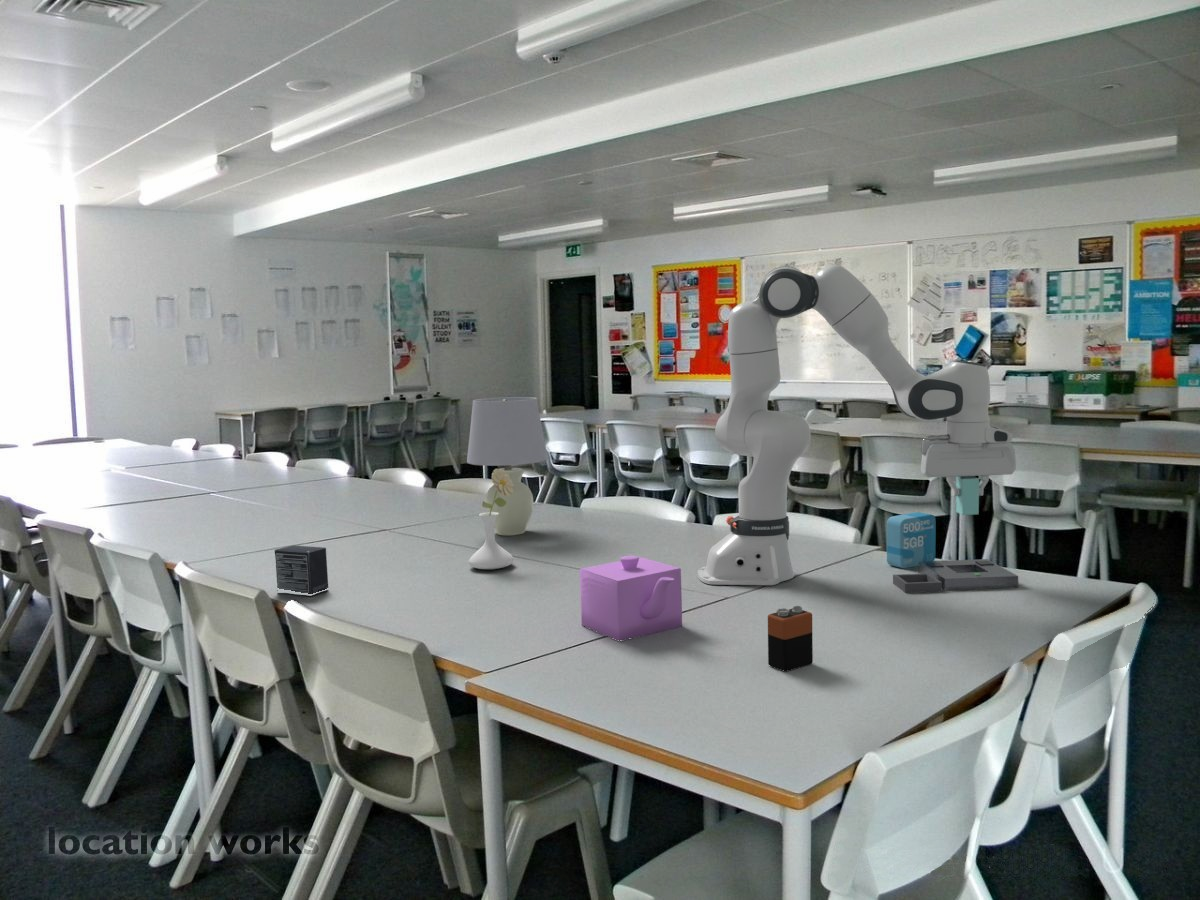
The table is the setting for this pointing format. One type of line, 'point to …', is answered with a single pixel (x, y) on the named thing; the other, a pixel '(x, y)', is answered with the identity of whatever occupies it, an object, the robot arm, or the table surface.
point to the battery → (790, 638)
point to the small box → (301, 569)
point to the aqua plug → (967, 495)
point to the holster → (917, 583)
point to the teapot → (631, 597)
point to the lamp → (507, 453)
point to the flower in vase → (491, 551)
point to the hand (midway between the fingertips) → (967, 495)
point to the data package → (910, 539)
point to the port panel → (969, 574)
